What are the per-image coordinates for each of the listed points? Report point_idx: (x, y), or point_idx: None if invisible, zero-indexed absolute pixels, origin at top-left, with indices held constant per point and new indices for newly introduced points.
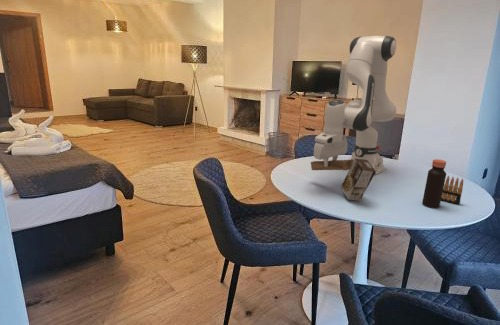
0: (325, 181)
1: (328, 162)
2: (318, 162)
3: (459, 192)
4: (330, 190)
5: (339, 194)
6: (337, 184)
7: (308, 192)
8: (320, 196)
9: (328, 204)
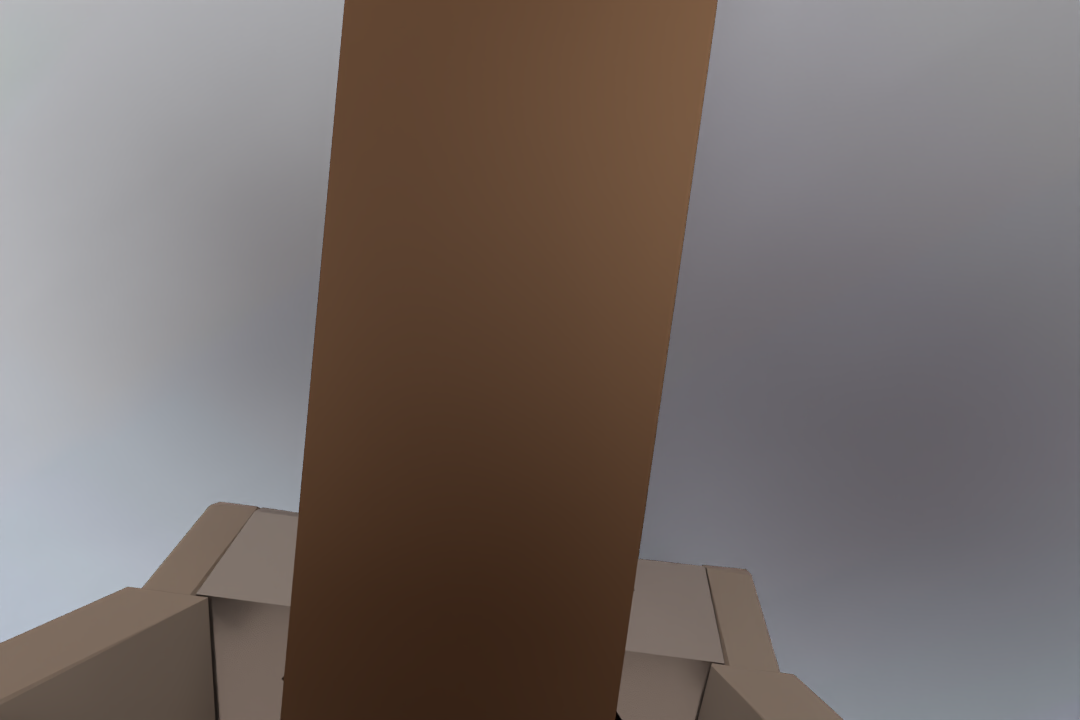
0: (919, 6)
1: (292, 711)
2: (354, 59)
3: None
4: None
5: None
6: (912, 292)
7: (101, 153)
8: (159, 394)
9: (52, 604)
